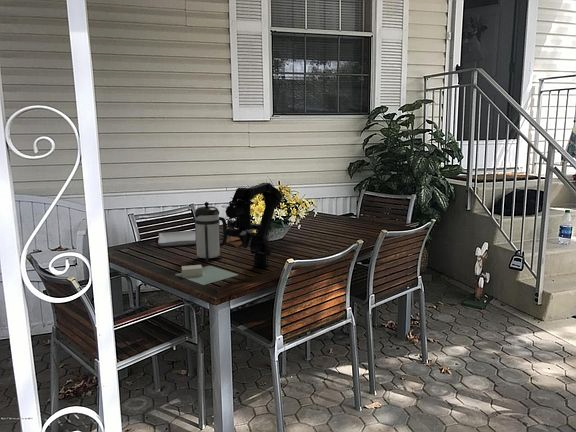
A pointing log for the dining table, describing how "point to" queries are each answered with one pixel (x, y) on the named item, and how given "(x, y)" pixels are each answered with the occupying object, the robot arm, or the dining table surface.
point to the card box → (192, 270)
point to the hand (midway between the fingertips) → (245, 248)
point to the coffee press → (208, 232)
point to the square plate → (177, 238)
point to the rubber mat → (210, 275)
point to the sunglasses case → (234, 242)
